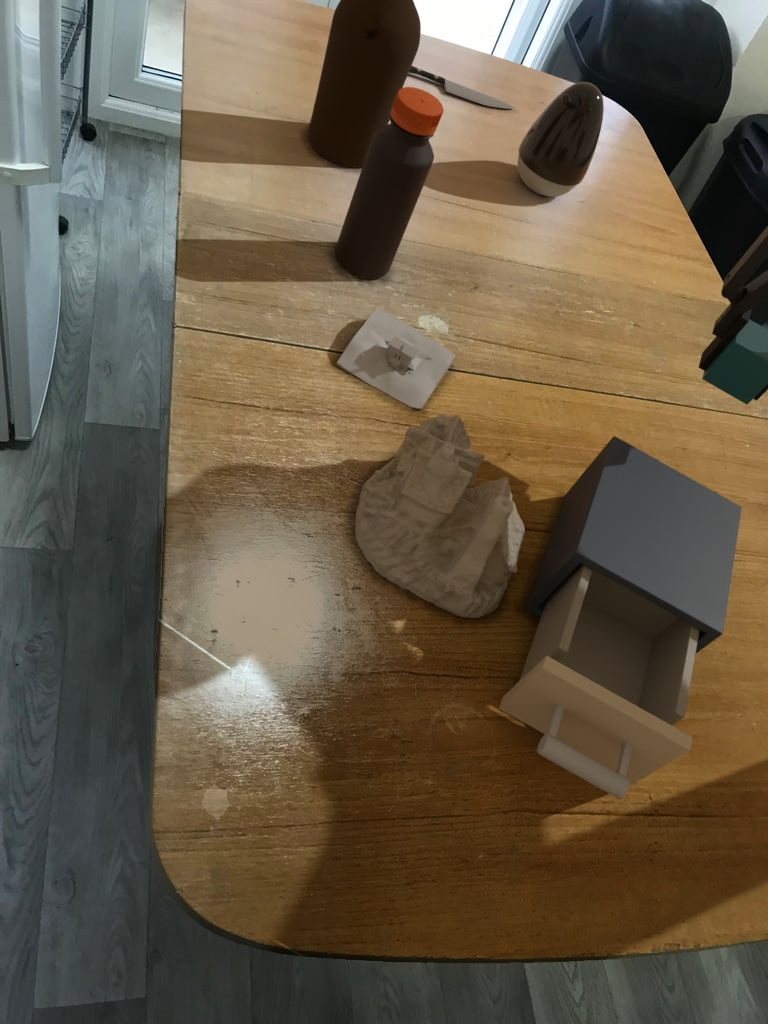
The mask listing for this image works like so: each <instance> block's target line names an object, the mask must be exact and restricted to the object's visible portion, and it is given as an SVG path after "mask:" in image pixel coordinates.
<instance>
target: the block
mask: <svg viewBox="0 0 768 1024" xmlns="http://www.w3.org/2000/svg"><path fill="white" fill-rule="evenodd" d="M701 379H702V380H703V381H705V382H707V383H708V384H710V385H712V386H713V387H715V388H717V389H719V390H720V391H722V392H724V393H726V394H727V395H729V396H730V397H733V398H735V399H736V400H738V401H740V402H741V403H743V404H745V405H749V404H750V403H751V401H753V400H754V399H753V398H754V397H755V396H756V395H757V394H758V393H759V392H760V391H761V390H762V389H763V388H764V387H765V386H766V385H767V384H768V329H767V328H765V327H764V326H762V325H760V324H759V323H757V322H755V321H753V320H751V319H750V318H749V322H748V323H747V324H746V325H745V326H744V328H743V329H742V330H741V331H740V332H739V333H738V334H737V336H735V337H734V338H733V340H732V341H731V342H730V343H729V344H728V345H727V346H726V348H725V349H724V350H723V351H722V352H721V353H720V354H719V356H718V357H717V358H716V359H715V360H714V361H713V362H712V364H711V365H710V366H709V367H708V368H707V369H706V370H705V371H704V370H703V374H702V378H701Z"/></svg>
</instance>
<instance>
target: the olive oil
mask: <svg viewBox="0 0 768 1024" xmlns="http://www.w3.org/2000/svg"><path fill="white" fill-rule="evenodd" d="M421 25H422V24H421V19H420V14H419V12H418V9H417V7H416V4H415V2H414V0H340V1H339V2H338V3H337V5H336V7H335V10H334V12H333V15H332V20H331V24H330V29H329V34H328V39H327V45H326V48H325V52H324V53H325V54H324V60H323V64H322V67H321V72H320V76H319V77H320V78H319V83H318V86H317V91H316V96H315V101H314V106H313V109H312V112H311V116H310V117H311V118H310V121H309V126H308V130H307V140H308V143H309V145H310V147H311V148H312V149H313V150H314V151H315V152H316V153H317V154H319V155H320V156H321V157H322V158H324V159H325V160H327V161H329V162H331V163H334V164H336V165H338V166H342V167H346V168H354V169H355V168H357V169H358V168H362V167H363V164H364V161H365V158H366V155H367V152H368V149H369V146H370V143H371V140H372V137H373V135H374V133H375V131H377V130H378V129H380V128H381V127H383V126H385V125H388V124H390V115H391V110H392V107H393V104H394V101H395V98H396V95H397V92H398V90H400V89H401V88H404V85H405V83H406V80H407V77H408V75H409V74H410V73H409V71H410V68H411V66H413V63H414V61H415V58H416V55H417V53H418V50H419V47H420V43H421V32H422V31H421V30H422V28H421Z"/></svg>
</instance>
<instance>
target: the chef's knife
mask: <svg viewBox="0 0 768 1024" xmlns="http://www.w3.org/2000/svg"><path fill="white" fill-rule="evenodd" d="M408 74H414V75H418V76H421V77H423V78H426V79H428V80H430V81H431V82H432V81H433V82H434V83H437V84H439V85H442V86H443V87H444V89H445V92H447V93H448V94H449V93H450V94H452V95H455V96H458V97H459V98H460V97H461V98H463V99H466V100H469V101H472V102H474V103H477V104H480V105H483V106H487V107H492V108H499V109H507V110H508V109H514V108H516V106H514V105H511V104H509V103H507V102H505V101H503V100H501V99H498V98H495V97H492V96H490V95H488V94H485V93H483V92H480V91H477V90H474V89H472V88H470V87H467V86H464V85H461V84H459V83H456V82H455V81H452V80H449V79H447V78H444V77H442V76H440V75H437V74H435V73H432V72H428V71H426V70H424V69H421V68H418V67H417V66H413V65H412V66H411V68H410V71H409V73H408Z"/></svg>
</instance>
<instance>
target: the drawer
mask: <svg viewBox="0 0 768 1024" xmlns="http://www.w3.org/2000/svg"><path fill="white" fill-rule="evenodd" d="M699 630H700V629H698V628H697V627H695V626H693V625H691V624H689V623H688V622H686V621H684V620H682V619H681V618H679V617H677V616H675V615H673V614H672V613H670V612H668V611H666V610H664V609H663V608H661V607H659V606H657V605H655V604H654V603H652V602H650V601H648V600H647V599H645V598H643V597H641V596H639V595H638V594H636V593H634V592H632V591H630V590H629V589H627V588H625V587H623V586H621V585H620V584H618V583H616V582H614V581H613V580H611V579H609V578H607V577H605V576H604V575H602V574H600V573H598V572H596V571H595V570H593V569H591V568H589V567H587V566H586V565H584V564H582V563H579V564H578V566H577V567H576V568H575V569H574V570H573V571H572V572H571V573H570V574H569V575H568V576H567V577H566V578H565V579H564V580H563V581H562V582H561V584H560V585H559V586H558V587H557V588H556V589H555V590H554V591H553V592H552V593H551V594H550V595H549V596H548V599H547V602H546V604H545V607H544V610H543V613H542V616H541V618H540V619H539V622H538V626H537V628H536V631H535V634H534V637H533V639H532V643H531V646H530V648H529V652H528V654H527V659H526V661H525V664H524V667H523V669H522V672H521V675H520V678H519V680H518V682H517V683H516V684H515V685H514V686H513V687H512V688H510V690H509V691H507V692H506V693H505V694H504V695H503V697H502V698H501V701H500V704H499V706H498V709H499V710H500V711H502V712H504V713H506V714H508V715H509V716H512V717H513V718H515V719H517V720H518V721H520V722H522V723H523V724H525V725H527V726H529V727H531V728H533V729H534V730H536V731H537V732H540V733H542V734H543V736H542V737H541V739H540V741H539V743H538V745H537V747H536V748H537V749H536V753H537V754H538V755H539V756H542V757H543V758H545V759H547V760H549V762H552V763H554V764H555V765H557V766H559V767H561V768H563V769H565V770H566V771H568V772H570V773H572V774H573V775H575V776H577V777H579V778H581V779H582V780H585V781H586V782H588V783H589V784H591V785H594V786H595V787H596V788H598V789H600V790H601V791H604V792H605V793H607V794H609V795H611V796H613V797H614V798H616V799H618V800H622V799H623V798H625V796H626V795H627V793H628V792H629V789H630V785H631V784H633V785H635V784H637V783H638V782H640V781H641V780H643V779H645V778H646V777H648V776H649V775H652V774H653V773H655V772H657V771H658V770H660V769H661V768H663V767H665V766H667V765H668V764H670V763H672V762H673V761H675V760H677V759H678V758H680V757H682V756H683V755H685V754H687V753H689V752H691V751H692V745H693V736H691V735H689V734H688V733H686V732H684V731H683V730H681V729H679V728H677V727H675V726H673V725H675V724H677V723H678V722H679V721H682V720H683V719H684V718H685V716H686V711H687V705H688V699H689V693H690V687H691V682H692V675H693V671H694V664H695V659H696V654H697V653H696V648H697V642H698V636H699ZM695 653H696V654H695Z"/></svg>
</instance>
